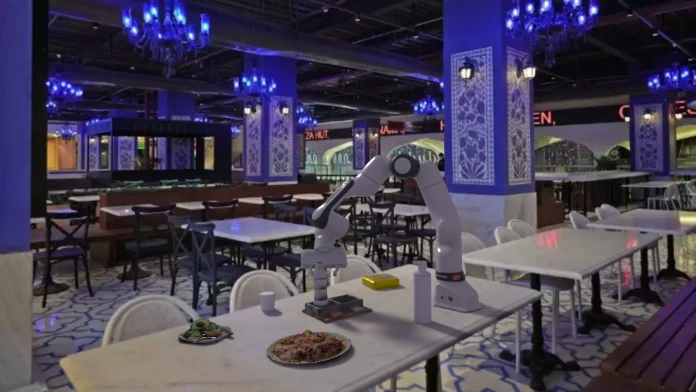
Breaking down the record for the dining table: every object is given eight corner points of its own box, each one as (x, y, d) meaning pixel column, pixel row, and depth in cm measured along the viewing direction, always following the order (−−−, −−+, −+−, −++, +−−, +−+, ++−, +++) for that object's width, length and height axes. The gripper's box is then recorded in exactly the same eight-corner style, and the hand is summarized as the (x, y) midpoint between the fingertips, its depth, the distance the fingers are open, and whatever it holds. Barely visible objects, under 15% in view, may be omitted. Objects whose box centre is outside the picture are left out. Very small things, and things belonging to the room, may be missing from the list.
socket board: (372, 311, 197) (372, 302, 197) (325, 323, 184) (325, 313, 184) (347, 301, 212) (346, 292, 212) (302, 311, 199) (302, 302, 199)
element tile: (360, 284, 244) (360, 275, 244) (386, 280, 250) (386, 271, 250) (373, 291, 230) (373, 281, 230) (401, 287, 236) (400, 277, 236)
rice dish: (250, 364, 150) (249, 348, 150) (291, 332, 176) (290, 317, 176) (331, 377, 140) (331, 359, 140) (362, 340, 166) (362, 325, 165)
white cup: (279, 307, 206) (278, 291, 205) (269, 312, 199) (269, 295, 199) (265, 306, 208) (265, 290, 208) (256, 310, 202) (255, 294, 202)
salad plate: (246, 331, 178) (245, 319, 178) (216, 348, 162) (215, 335, 161) (204, 325, 185) (203, 313, 185) (171, 341, 169) (170, 329, 169)
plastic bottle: (317, 314, 192) (316, 265, 191) (310, 309, 198) (309, 262, 197) (331, 311, 195) (330, 263, 194) (324, 307, 201) (323, 260, 200)
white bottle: (410, 320, 186) (410, 256, 184) (425, 317, 188) (425, 255, 187) (419, 325, 180) (418, 259, 178) (434, 322, 182) (434, 258, 180)
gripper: (300, 245, 210) (298, 272, 200) (346, 244, 210) (347, 271, 201) (301, 253, 214) (300, 280, 205) (346, 252, 215) (347, 279, 205)
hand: (323, 275), depth 203 cm, fingers open, 8 cm apart
